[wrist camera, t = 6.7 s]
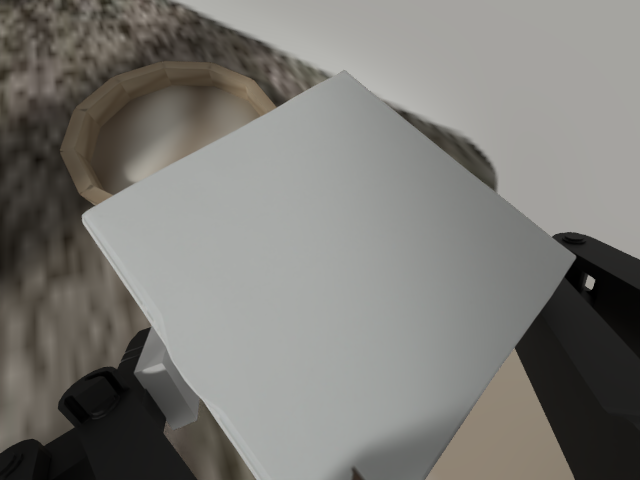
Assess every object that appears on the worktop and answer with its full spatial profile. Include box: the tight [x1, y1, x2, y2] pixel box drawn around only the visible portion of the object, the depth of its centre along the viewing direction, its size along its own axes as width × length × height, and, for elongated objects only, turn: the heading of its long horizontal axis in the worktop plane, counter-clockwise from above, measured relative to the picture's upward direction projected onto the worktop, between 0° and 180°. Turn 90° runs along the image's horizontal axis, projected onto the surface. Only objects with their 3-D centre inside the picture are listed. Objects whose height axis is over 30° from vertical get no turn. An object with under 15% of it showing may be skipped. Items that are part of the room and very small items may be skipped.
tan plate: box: [60, 61, 277, 206], centre depth 24 cm, size 17×17×2 cm
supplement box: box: [82, 70, 576, 480], centre depth 13 cm, size 9×9×15 cm
